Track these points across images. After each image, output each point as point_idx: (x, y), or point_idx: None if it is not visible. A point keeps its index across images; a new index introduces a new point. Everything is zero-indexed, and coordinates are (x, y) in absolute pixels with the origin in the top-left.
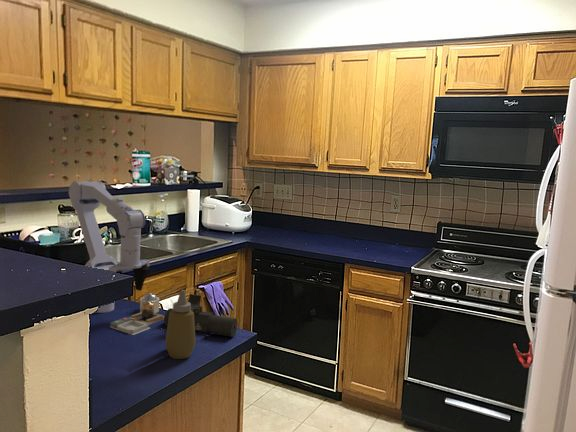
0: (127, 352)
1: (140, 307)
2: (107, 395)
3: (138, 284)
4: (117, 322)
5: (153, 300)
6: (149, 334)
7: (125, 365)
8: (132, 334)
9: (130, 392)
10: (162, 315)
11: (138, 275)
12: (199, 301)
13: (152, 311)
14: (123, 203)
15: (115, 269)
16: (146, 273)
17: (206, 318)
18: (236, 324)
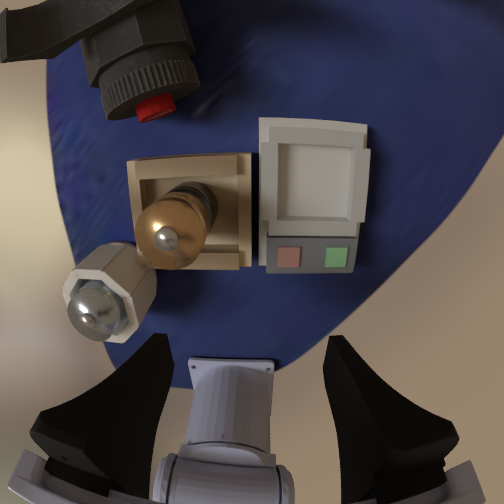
0: (446, 70)
1: (149, 305)
2: None
3: (158, 376)
4: (343, 248)
5: (94, 285)
6: (290, 98)
7: (486, 37)
8: (365, 131)
9: None
10: (138, 163)
11: (139, 434)
12: (31, 6)
13: (174, 192)
14: None
15: (469, 497)
16: (78, 410)
17: None
18: None
